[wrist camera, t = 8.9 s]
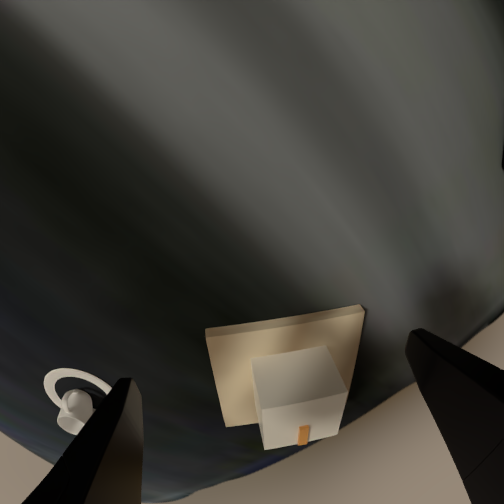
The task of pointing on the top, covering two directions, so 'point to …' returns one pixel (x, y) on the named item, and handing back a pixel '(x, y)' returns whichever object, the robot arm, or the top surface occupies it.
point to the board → (277, 352)
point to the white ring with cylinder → (73, 399)
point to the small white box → (297, 396)
